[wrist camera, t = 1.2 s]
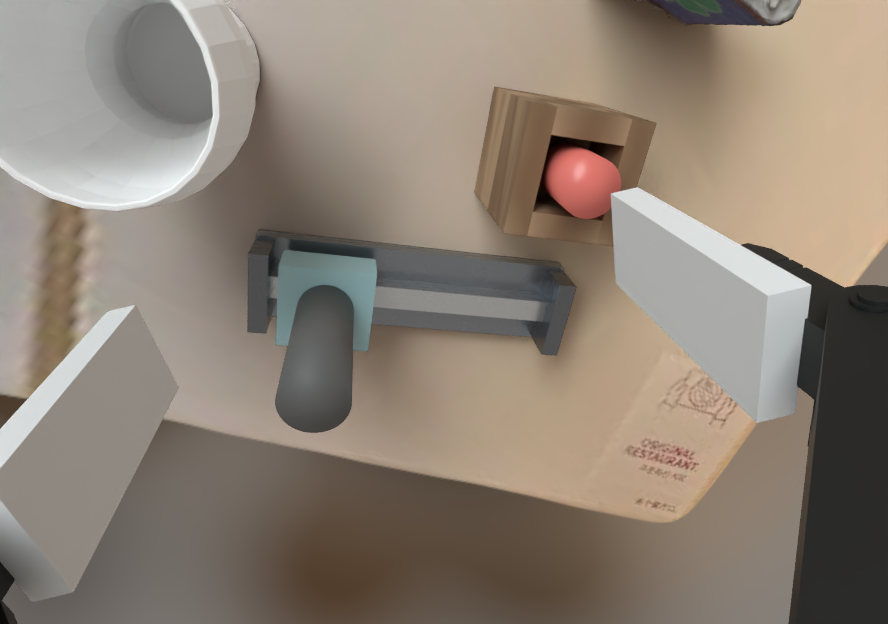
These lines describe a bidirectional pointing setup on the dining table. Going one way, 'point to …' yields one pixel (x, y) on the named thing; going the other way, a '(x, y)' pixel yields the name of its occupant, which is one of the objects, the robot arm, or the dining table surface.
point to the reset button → (579, 179)
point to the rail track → (430, 271)
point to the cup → (123, 98)
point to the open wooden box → (524, 152)
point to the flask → (729, 11)
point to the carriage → (321, 334)
